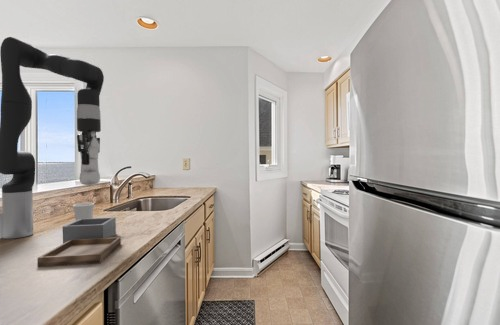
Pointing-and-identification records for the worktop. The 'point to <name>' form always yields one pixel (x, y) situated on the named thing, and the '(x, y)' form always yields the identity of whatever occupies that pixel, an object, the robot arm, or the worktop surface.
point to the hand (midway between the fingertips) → (89, 164)
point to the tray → (80, 252)
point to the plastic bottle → (91, 165)
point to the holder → (89, 229)
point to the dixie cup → (83, 210)
